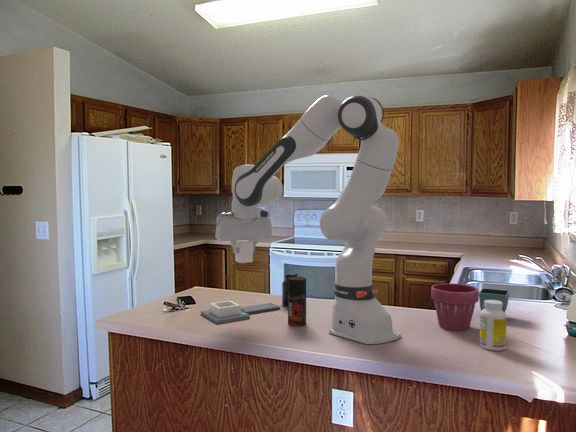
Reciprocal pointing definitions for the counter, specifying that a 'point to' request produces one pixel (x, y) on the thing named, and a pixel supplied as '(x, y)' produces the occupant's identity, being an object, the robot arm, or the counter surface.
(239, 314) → the dock
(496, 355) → the counter surface
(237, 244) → the block
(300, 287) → the deodorant
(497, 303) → the supplement bottle
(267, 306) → the phone
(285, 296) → the supplement bottle
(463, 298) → the plant pot
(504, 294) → the flower pot
